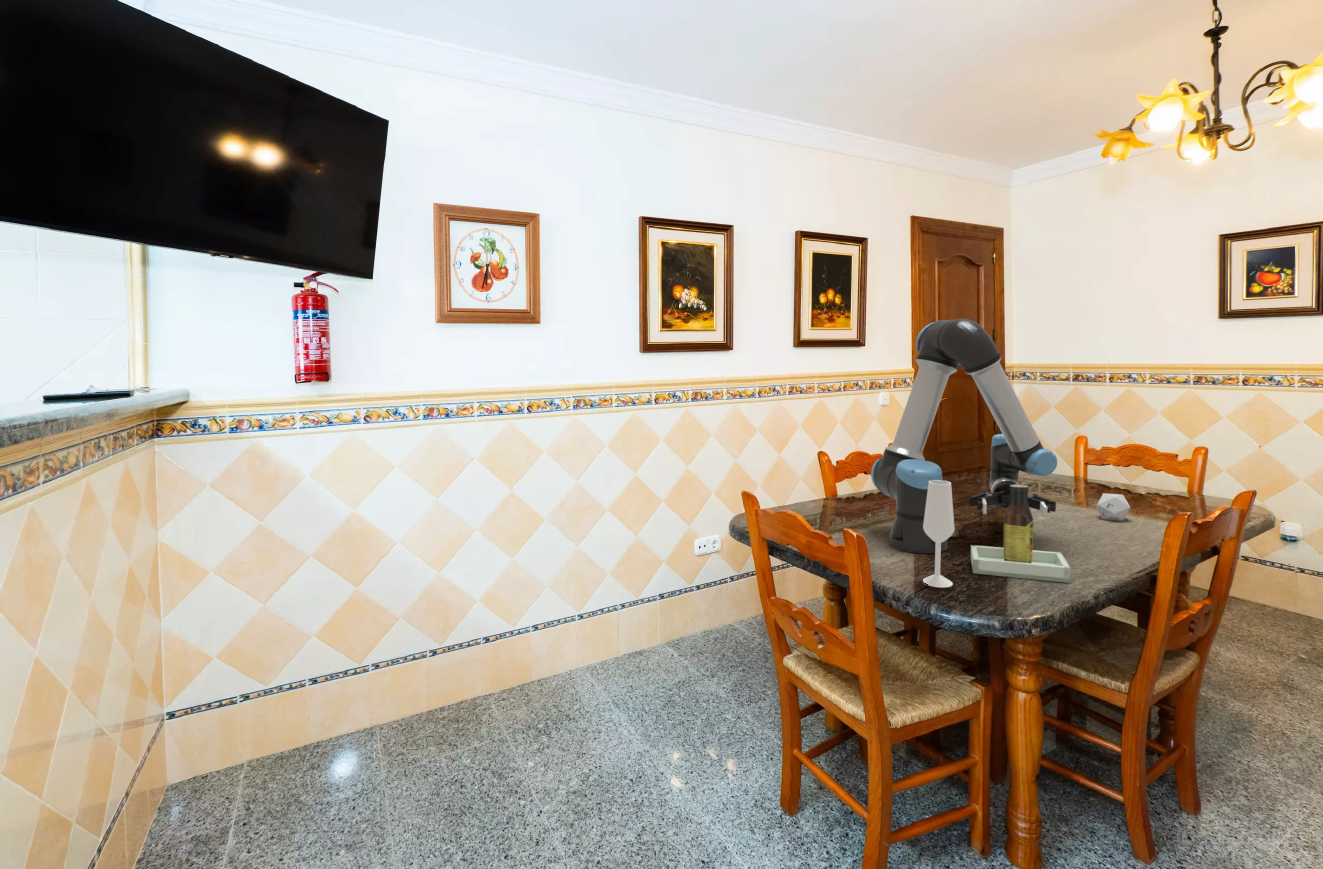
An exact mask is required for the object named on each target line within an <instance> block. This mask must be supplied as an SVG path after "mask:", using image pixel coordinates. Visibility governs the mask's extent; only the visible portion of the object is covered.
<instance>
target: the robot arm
mask: <svg viewBox="0 0 1323 869" xmlns="http://www.w3.org/2000/svg"><path fill="white" fill-rule="evenodd" d="M915 347H916V350H917V356H916V358H915V362H916V364H917V365H918V366H917V367H918V370H917V374H916V375H915V378H914V382H913V384H912V387H911V389H910V393H909V396H908V399H907V402H906V404H905V407H904V409H903V410H904V411H903V412H902V416H901V418H900V421H899V425H898V428H897V431H896V433H895V436H894V439H893V441H892V444H889V446H887V447H885V449H884V451H883V454H882V457H880V458H878V459H876V460H875V461H874V463H873V465H872V467H871V471H870V478H871V481H872V484H873V486H874V487H875V488H876V489H877V490H878V491H879V492H880V493H882V494H883V495H884V496H886V497H889V498H891V499H893V500H895V518H894V521H893V524H892V526H891V530H890V532H889V534H888V545H889V546H890V547H892V548H893V549H896V550H899V551H903V552H908V553H913V554H914V553H915V554H935V544H936V542H934V541H933V540H932V539H931V538H930V537H929V536H928V535H927V534H926V533H925V531H924V529H923V523H924V515H925V507H926V500H927V492H928V484H929V481H933V480H941V481H944V480H943V470H942V468H941V467H940V466H939V465H938V464H937V463H935V462H932V461H929V460H926V459H925V457H924V455H923V450H924V448H925V446H926V443H927V439H928V438H929V434H930V431H931V429H932V426H933V423H934V420H935V417H936V415H937V411H938V409H939V406H940V403H941V400H942V398H943V394H944V393H945V392H944V391H945V389H946V387H947V383H948V381H949V377H950V376H951V375H953V374H955V373H957V372H958V369H959V366H960V367H962V370H963V371H964V373H965V374H967V375H971V377H972V379H973V380H974V383H975V384H976V387H977V389H978V390H979V393H980V394H981V396H982V398H983V400H984V402H985V404H986V405H987V408H988V409H989V411H990V413H991V415H992V417H993V419H994V421H995V423H996V424H997V426H998V428H999V430H1000V432H1001V433H998V434H995V435H993V436H992V438H991V446H990V476H989V480H988V488H989V489H990V491H991V493H990V494H989V492H988V491H985V490H983V491H981V492H979V493H977V494H974V495H971V496H969V506H970V507H975V506H976V510H978V511H982V515H987V510H988V508H987V507H989V506H998V507H1000V508H1004V509H1007V508H1008V506H1009V505H1010V490H1009V488H1010V485H1020V484H1019V478H1020V477H1019V475H1020V472H1023V473H1026V474H1029V475H1031V476H1037V477H1046V476H1047V477H1048V476H1049V475H1051V474H1052V473H1053V472H1054V471H1056V469H1057V466H1058V458H1057V456H1056V454H1055V453H1054V452H1053V451H1051V450H1049V449H1047V448H1044V446H1043V444H1042V443H1041V440H1040V439H1039V437H1038V435H1037V432H1036V430H1035V429H1034V427H1033V425H1032V423H1031V420H1029V416H1028V415H1027V413H1026V411H1025V409H1024V408H1023V406H1022V403H1021V402H1020V399H1019V398H1018V396H1017V394H1016V392H1015V390H1014V388H1013V385H1012V384H1011V382H1010V379H1009V378H1008V376H1007V374H1006V373H1005V372H1006V371H1005V370H1004V368H1003V367H1002V364H1001V363H1000V362H1001V359H1002V358H1003V357H1002V355H1001V353H1000V351H999V349H998V347H997V345H996V344H995V342H994V341H993V339H992V337H991V336H990V335H989V333H988V332H987V331H986V329H984V327H983V326H981V324H979V323H977V322H976V321H973V319H972V320H971V319H969V318H956V319H947V320H945V319H943V320H942V319H941V320H937V321H934V322H930V323H929V324H927V325H925V326H924V327H923V328H922V329H921V330H920V332H919V333H918V335H917V337H916V341H915ZM1028 505H1029V508H1030V509H1033V510H1037V511H1039V512H1040V514H1041V515H1042V518H1043V519H1048V513H1051V512H1056V509H1057V501H1054V500H1051V499H1049V498H1045V497H1043V496H1041V495H1038V493H1037V494H1036V493H1032V494H1031V495H1030V496H1028ZM947 549H948V539H947V540H945V541H944V542H942V543H941V553H942V552H944V551H947Z"/></svg>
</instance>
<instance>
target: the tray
mask: <svg viewBox="0 0 1323 869" xmlns="http://www.w3.org/2000/svg"><path fill="white" fill-rule="evenodd" d="M1003 549H1004V547H999V546H998V547H996V546H986V545H976V544H974V545H972V544H970V564H971V569H972V574H977V575H984V576H985V575H988V576H998V577H1005V578H1016V579H1017V578H1018V579H1025V580H1026V579H1027V580H1036V581H1045V582H1046V581H1048V582H1056V583H1065V584H1066V583H1067V584H1070V583H1071V582H1070V581H1071V567H1070V565H1069V563H1068V561H1067V560H1066V558H1065V557H1064V556H1063V554H1062V552H1058V551H1047V550H1046V551H1044V550H1034V549H1033V557H1032V563H1023V562H1012V561H1004V558H1003Z"/></svg>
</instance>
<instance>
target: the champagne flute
mask: <svg viewBox="0 0 1323 869" xmlns="http://www.w3.org/2000/svg"><path fill="white" fill-rule="evenodd" d="M954 523H955V518H954V504H953V490H952V482H950V481H948V480H943V481H941V480H933V481H929V484H928V492H927V500H926V507H925V515H924V523H923V529H924V531H925V533H926V534H927V535H928V536H929V537H930V538H931V539H932V540H933V541H934V542H936V544H935V553H934V574H932V575H929V576H926V577H925V578H922V579H923V582H924V583H926V584H928V585H927V586H930V587H933V588H950V587H952V586H953V585H954V584H953V582H952V581H951V580H950V579H948V578H946V577H945V576H943V575H942V574H941V558H942V557H941V555H942V554H941V553H942V552H941V543H942V542H944V541H945V540H947V541H948V539H949V538H950V536H951V535H952V534H953V533H954V530H955V529H954ZM923 582H922V583H923ZM924 583H923V584H924ZM926 584H925V585H926Z"/></svg>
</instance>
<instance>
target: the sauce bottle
mask: <svg viewBox="0 0 1323 869" xmlns="http://www.w3.org/2000/svg"><path fill="white" fill-rule="evenodd" d="M1009 490H1010V505H1009V506H1008V508H1005V512H1004V520H1003V522H1004V523H1003V548H1004V549H1003V558H1004V561H1012V562H1023V563H1032V557H1033V550H1034V548H1033V547H1034V546H1033V545H1034V517H1033V513H1032V512H1031V508H1030V507H1029V505H1028V497H1029V496H1028V495H1029V491H1030V490H1029V486H1028V485H1025V484H1019V485H1010V488H1009Z"/></svg>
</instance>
